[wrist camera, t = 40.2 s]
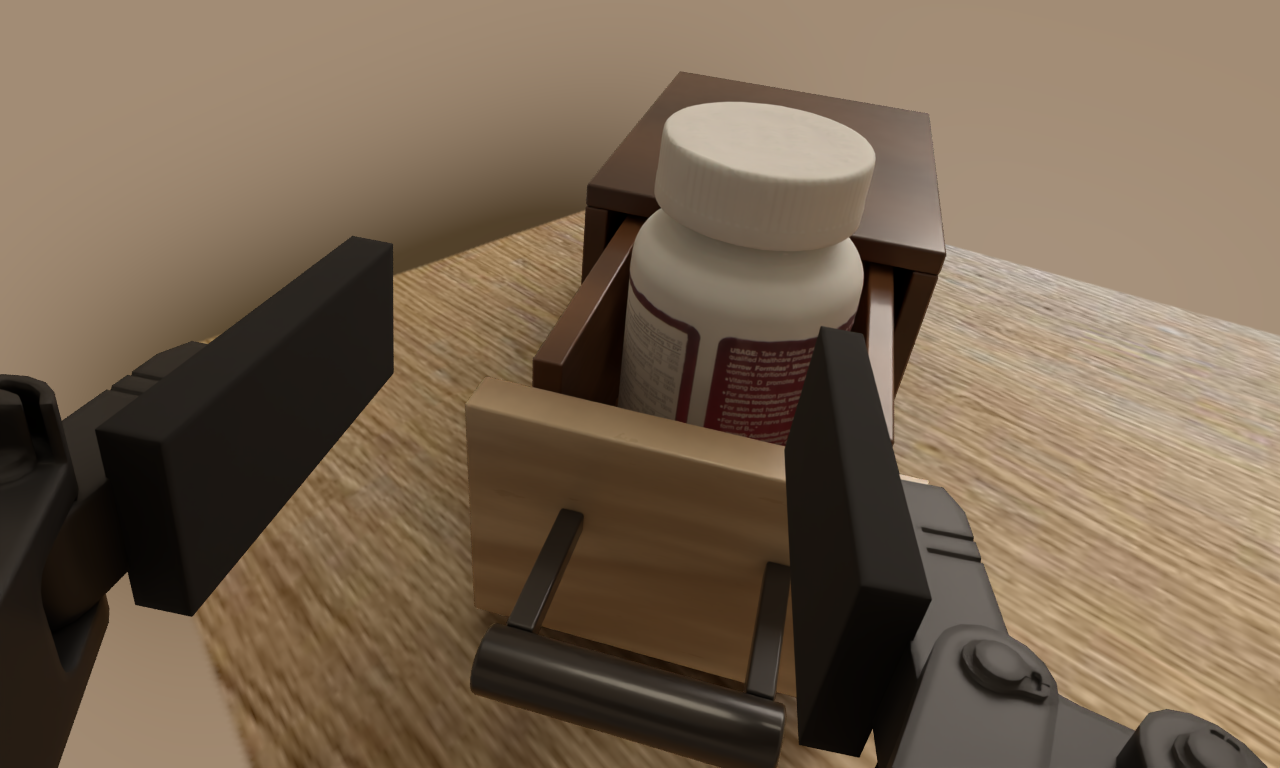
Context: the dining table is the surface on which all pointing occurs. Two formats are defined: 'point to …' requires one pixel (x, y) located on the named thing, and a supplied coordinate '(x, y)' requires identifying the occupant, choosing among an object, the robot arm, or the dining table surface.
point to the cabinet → (894, 207)
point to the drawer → (637, 541)
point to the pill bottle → (742, 265)
